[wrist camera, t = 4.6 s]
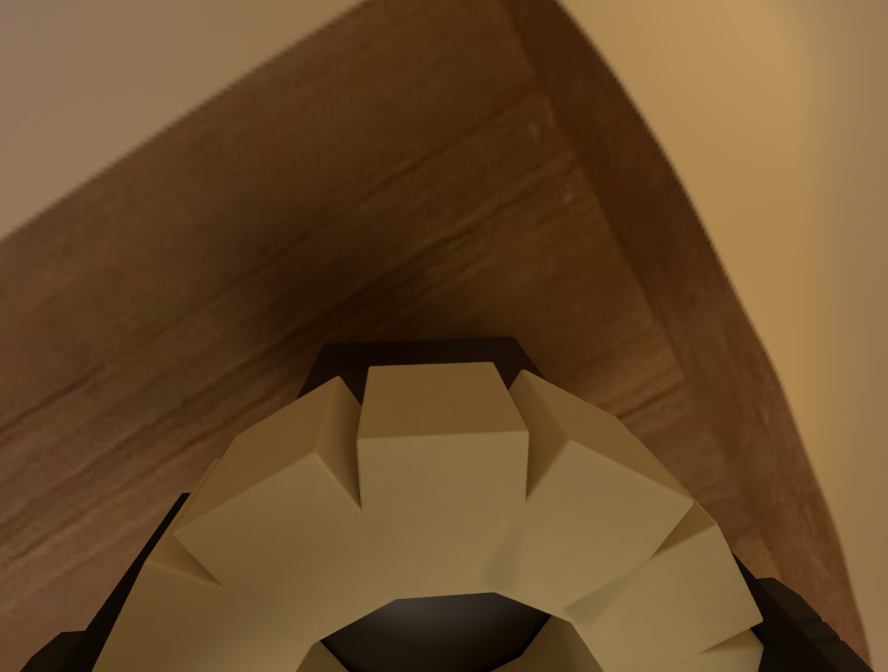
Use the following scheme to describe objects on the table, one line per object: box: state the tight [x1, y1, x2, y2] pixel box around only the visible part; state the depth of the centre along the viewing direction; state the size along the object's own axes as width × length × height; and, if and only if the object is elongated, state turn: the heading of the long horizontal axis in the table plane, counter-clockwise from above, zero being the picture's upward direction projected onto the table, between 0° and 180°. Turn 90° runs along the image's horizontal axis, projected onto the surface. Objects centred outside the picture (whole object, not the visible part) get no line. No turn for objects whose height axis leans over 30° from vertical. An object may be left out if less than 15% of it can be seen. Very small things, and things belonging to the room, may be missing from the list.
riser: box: [296, 338, 552, 672], centre depth 15 cm, size 7×7×8 cm
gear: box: [92, 362, 764, 672], centre depth 10 cm, size 11×11×3 cm
